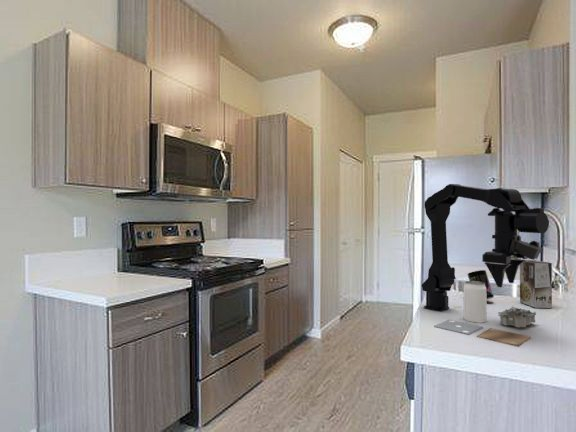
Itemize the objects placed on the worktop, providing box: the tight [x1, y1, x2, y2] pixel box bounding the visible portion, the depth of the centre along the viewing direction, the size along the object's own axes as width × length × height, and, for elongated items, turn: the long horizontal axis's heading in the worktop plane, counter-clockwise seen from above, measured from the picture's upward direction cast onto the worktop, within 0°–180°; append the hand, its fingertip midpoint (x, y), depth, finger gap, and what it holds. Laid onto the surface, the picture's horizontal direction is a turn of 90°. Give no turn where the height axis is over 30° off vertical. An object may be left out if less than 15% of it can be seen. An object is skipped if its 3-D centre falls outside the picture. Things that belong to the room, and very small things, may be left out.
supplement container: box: [467, 269, 495, 300], centre depth 142 cm, size 7×7×10 cm
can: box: [463, 280, 488, 323], centre depth 116 cm, size 6×6×12 cm
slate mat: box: [433, 319, 484, 336], centre depth 108 cm, size 10×10×1 cm
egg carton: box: [498, 306, 537, 328], centre depth 111 cm, size 11×8×4 cm
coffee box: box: [519, 259, 553, 309], centre depth 135 cm, size 9×6×16 cm
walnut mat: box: [476, 327, 532, 348], centre depth 99 cm, size 10×10×1 cm
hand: (505, 285), depth 107 cm, fingers open, 9 cm apart
